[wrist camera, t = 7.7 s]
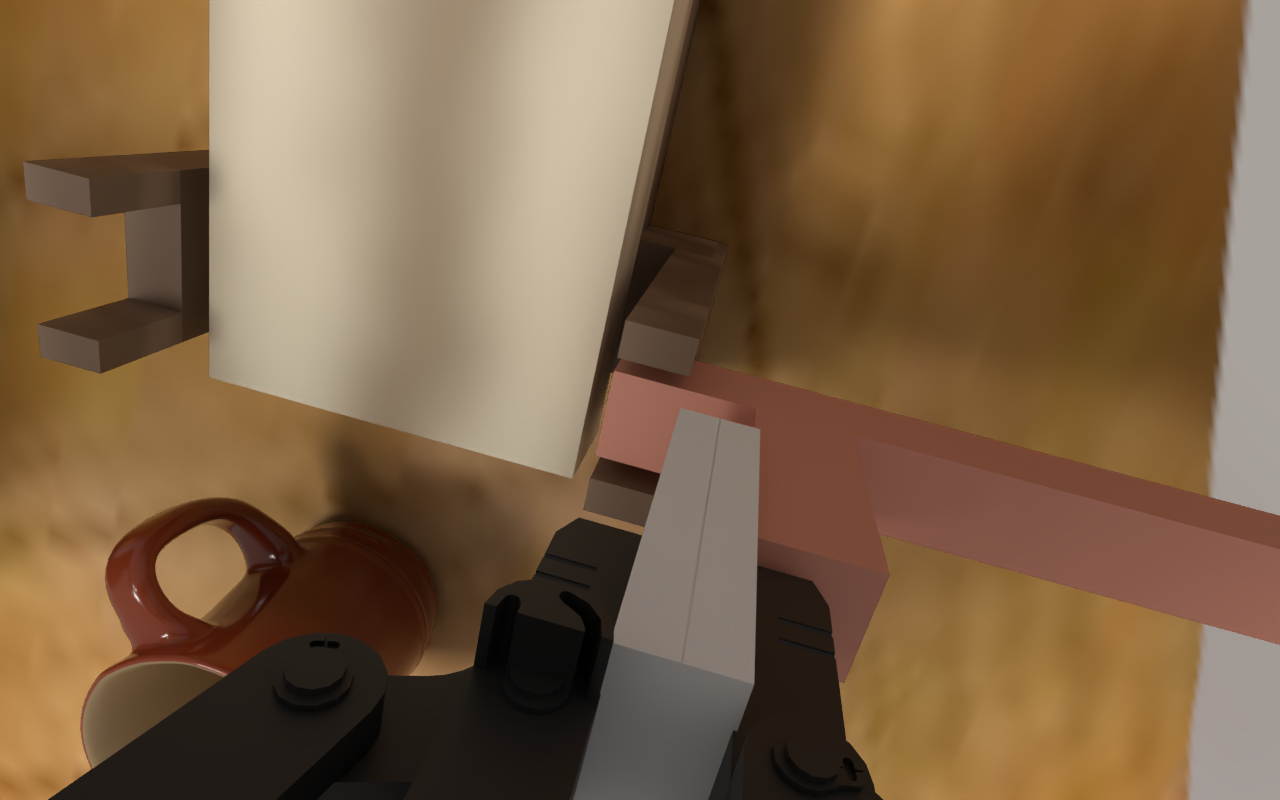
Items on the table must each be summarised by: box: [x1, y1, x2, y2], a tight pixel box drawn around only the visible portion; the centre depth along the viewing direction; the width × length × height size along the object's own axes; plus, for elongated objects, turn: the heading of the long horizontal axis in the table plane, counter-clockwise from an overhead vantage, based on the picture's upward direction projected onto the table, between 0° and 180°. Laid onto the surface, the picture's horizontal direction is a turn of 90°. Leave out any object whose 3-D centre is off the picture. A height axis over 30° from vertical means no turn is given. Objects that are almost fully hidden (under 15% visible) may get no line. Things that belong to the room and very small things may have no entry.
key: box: [595, 359, 1280, 683], centre depth 14 cm, size 16×2×7 cm, turn 77°
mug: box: [81, 497, 437, 769], centre depth 28 cm, size 12×9×10 cm
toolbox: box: [23, 0, 728, 527], centre depth 20 cm, size 14×14×12 cm
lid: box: [209, 0, 693, 479], centre depth 18 cm, size 10×15×3 cm, turn 167°
